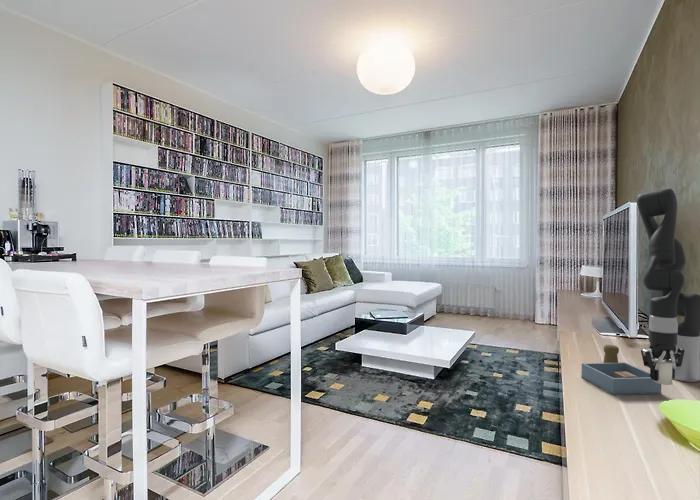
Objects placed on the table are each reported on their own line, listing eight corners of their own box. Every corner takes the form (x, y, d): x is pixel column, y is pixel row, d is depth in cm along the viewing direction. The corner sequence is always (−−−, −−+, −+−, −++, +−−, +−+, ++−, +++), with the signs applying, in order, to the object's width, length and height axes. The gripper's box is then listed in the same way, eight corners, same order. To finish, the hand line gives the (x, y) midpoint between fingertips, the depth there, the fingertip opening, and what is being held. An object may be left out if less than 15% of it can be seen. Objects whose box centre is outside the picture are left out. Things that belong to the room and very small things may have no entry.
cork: (611, 375, 154) (612, 347, 153) (598, 370, 159) (598, 343, 159) (623, 374, 155) (624, 346, 155) (609, 369, 161) (610, 342, 161)
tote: (624, 376, 152) (625, 362, 152) (661, 393, 136) (661, 377, 135) (581, 377, 151) (581, 363, 151) (612, 394, 135) (613, 379, 134)
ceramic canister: (662, 378, 133) (662, 358, 133) (676, 384, 128) (676, 363, 128) (649, 379, 133) (649, 359, 133) (662, 385, 128) (662, 364, 128)
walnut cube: (626, 385, 142) (626, 371, 142) (637, 390, 137) (637, 376, 137) (613, 385, 142) (613, 371, 141) (623, 390, 137) (623, 376, 136)
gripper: (672, 325, 134) (672, 374, 135) (633, 327, 133) (633, 376, 134) (693, 331, 127) (692, 382, 127) (652, 333, 125) (652, 384, 126)
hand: (662, 379), depth 130 cm, fingers closed on ceramic canister, 5 cm apart
